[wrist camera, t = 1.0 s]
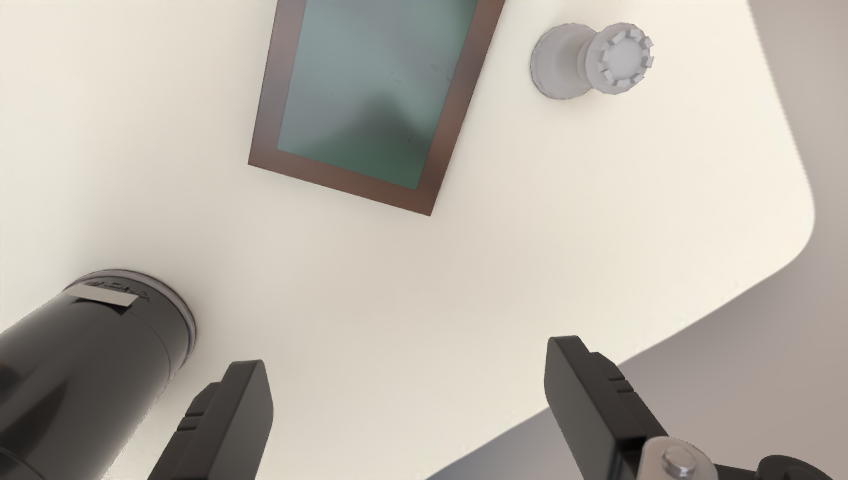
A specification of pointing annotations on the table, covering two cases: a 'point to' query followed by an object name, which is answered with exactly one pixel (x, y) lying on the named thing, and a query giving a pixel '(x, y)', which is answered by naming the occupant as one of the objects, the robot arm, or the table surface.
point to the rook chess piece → (590, 59)
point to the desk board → (370, 93)
